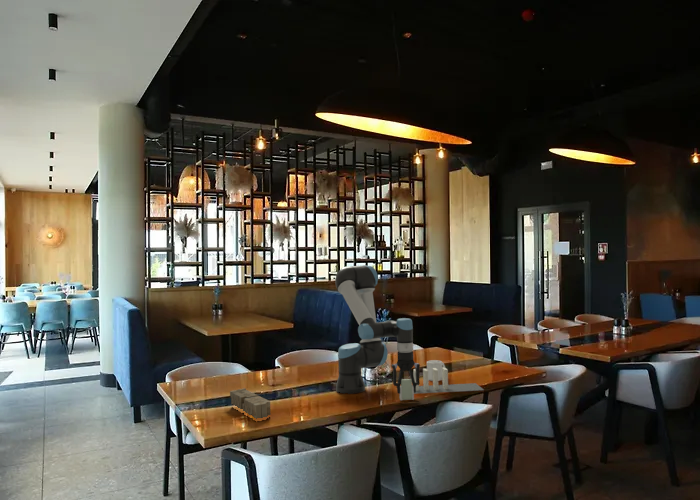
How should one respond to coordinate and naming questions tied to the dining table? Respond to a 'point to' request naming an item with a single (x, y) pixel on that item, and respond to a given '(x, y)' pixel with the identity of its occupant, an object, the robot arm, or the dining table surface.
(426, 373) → the domino
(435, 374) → the domino
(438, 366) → the cup
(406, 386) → the domino
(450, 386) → the slate mat
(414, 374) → the domino
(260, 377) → the dining table surface
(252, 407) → the grey long block
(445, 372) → the domino
